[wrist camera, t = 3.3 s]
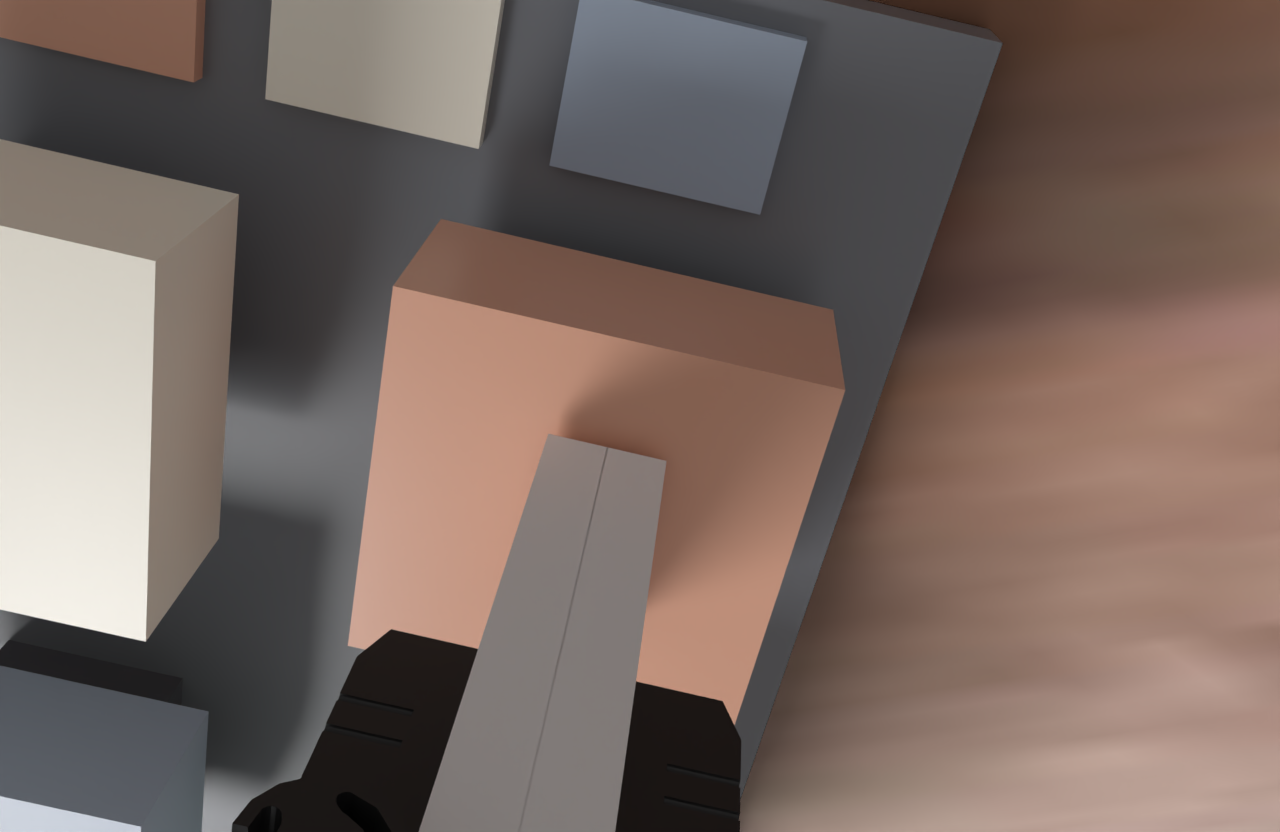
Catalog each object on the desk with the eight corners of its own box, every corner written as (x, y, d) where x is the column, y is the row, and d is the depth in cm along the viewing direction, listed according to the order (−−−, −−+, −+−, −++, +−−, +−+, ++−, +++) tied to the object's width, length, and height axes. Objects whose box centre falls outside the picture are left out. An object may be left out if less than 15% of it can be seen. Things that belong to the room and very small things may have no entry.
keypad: (-64, 874, 27) (-153, 995, 24) (-162, -246, 16) (-338, -252, 14) (650, 1027, 27) (638, 1162, 24) (988, 29, 17) (1033, 75, 14)
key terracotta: (394, 545, 19) (347, 646, 17) (440, 219, 17) (393, 285, 14) (734, 623, 19) (732, 730, 17) (833, 309, 17) (845, 389, 15)
